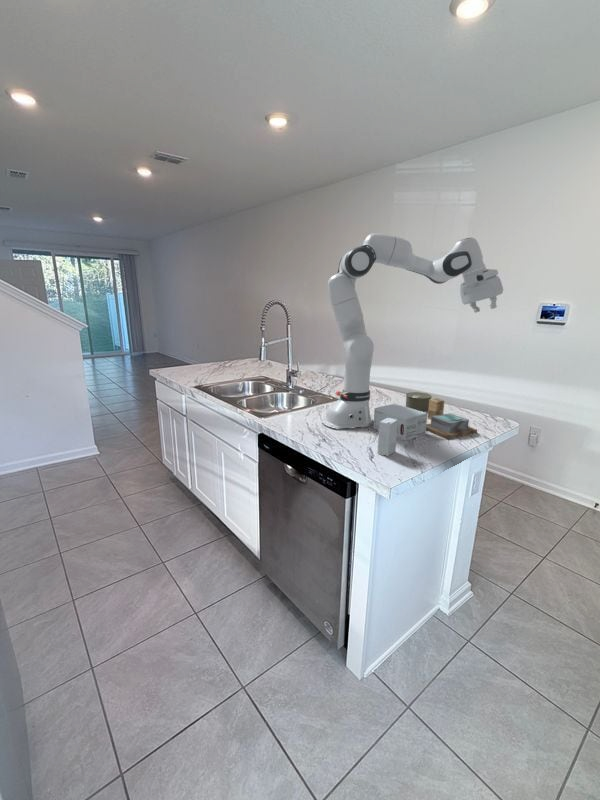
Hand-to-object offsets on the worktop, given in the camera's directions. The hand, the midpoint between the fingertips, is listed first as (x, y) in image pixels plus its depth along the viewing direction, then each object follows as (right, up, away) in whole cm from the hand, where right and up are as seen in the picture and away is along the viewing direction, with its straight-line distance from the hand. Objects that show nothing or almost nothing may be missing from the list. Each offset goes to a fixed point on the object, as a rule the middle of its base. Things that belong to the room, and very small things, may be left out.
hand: (485, 310), depth 153 cm
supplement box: (-37, -51, -2) cm, 63 cm away
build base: (-16, -50, -2) cm, 53 cm away
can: (-19, -42, +30) cm, 55 cm away
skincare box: (-47, -56, -23) cm, 77 cm away
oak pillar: (-16, -46, +13) cm, 51 cm away
